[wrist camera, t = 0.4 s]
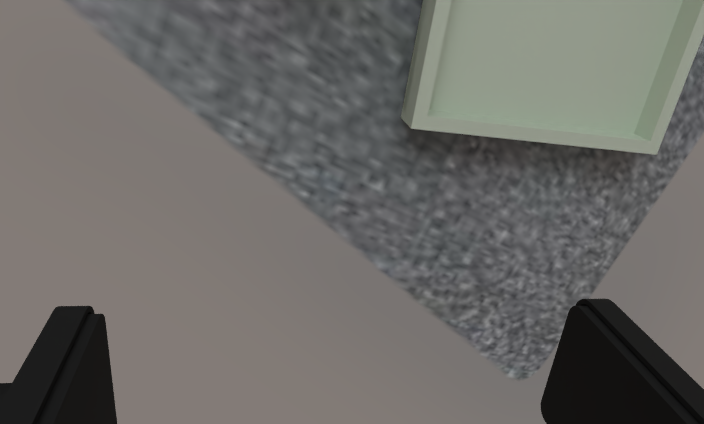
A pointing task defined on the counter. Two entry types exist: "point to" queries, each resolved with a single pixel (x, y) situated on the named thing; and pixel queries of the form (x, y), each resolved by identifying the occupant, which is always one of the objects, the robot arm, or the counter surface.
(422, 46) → the tray
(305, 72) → the counter surface
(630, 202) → the counter surface
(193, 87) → the counter surface
